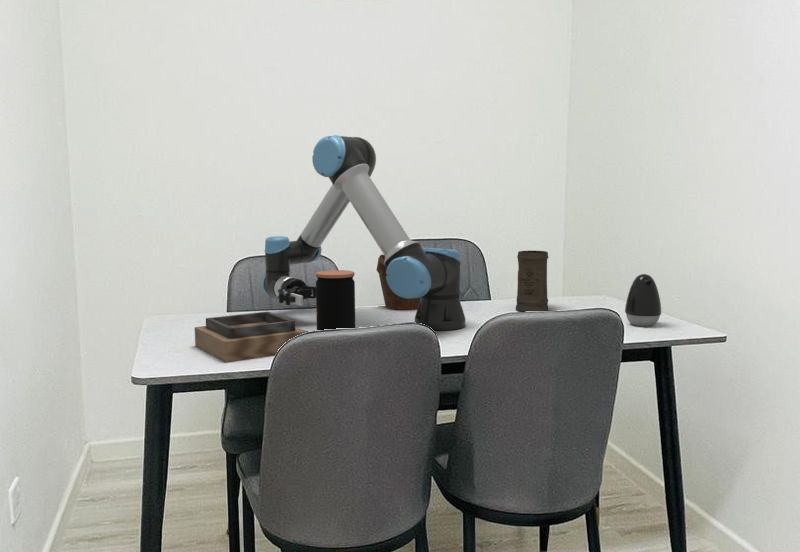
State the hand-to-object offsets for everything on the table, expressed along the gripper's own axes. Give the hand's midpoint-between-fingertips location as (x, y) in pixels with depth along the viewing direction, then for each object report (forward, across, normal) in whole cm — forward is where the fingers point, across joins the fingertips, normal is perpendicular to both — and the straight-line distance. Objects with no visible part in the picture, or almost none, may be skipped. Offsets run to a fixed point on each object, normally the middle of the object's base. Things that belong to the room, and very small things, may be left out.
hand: (323, 298), depth 214 cm
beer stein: (+4, -76, -10) cm, 76 cm away
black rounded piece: (+44, -83, -10) cm, 94 cm away
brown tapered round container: (-24, -43, -10) cm, 50 cm away
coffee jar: (+6, 0, -10) cm, 12 cm away
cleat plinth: (+6, +25, -10) cm, 27 cm away
